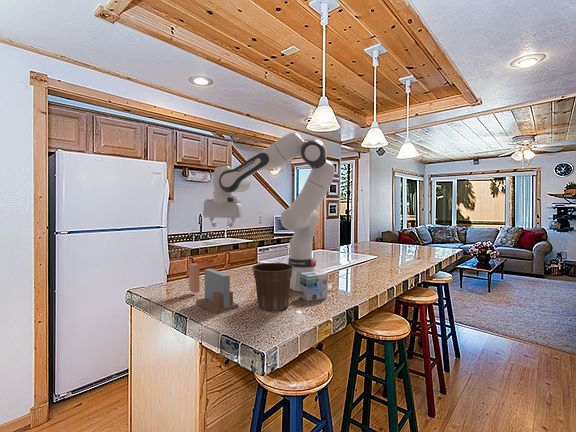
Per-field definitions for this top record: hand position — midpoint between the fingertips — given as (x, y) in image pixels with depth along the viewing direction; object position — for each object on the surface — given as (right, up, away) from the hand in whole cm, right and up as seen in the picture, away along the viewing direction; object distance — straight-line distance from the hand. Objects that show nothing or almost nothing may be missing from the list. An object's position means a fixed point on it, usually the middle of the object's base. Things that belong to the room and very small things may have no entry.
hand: (222, 226), depth 162 cm
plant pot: (+26, -31, -32) cm, 52 cm away
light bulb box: (+44, -30, -20) cm, 57 cm away
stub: (-10, -28, -16) cm, 34 cm away
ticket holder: (+4, -31, -31) cm, 44 cm away
